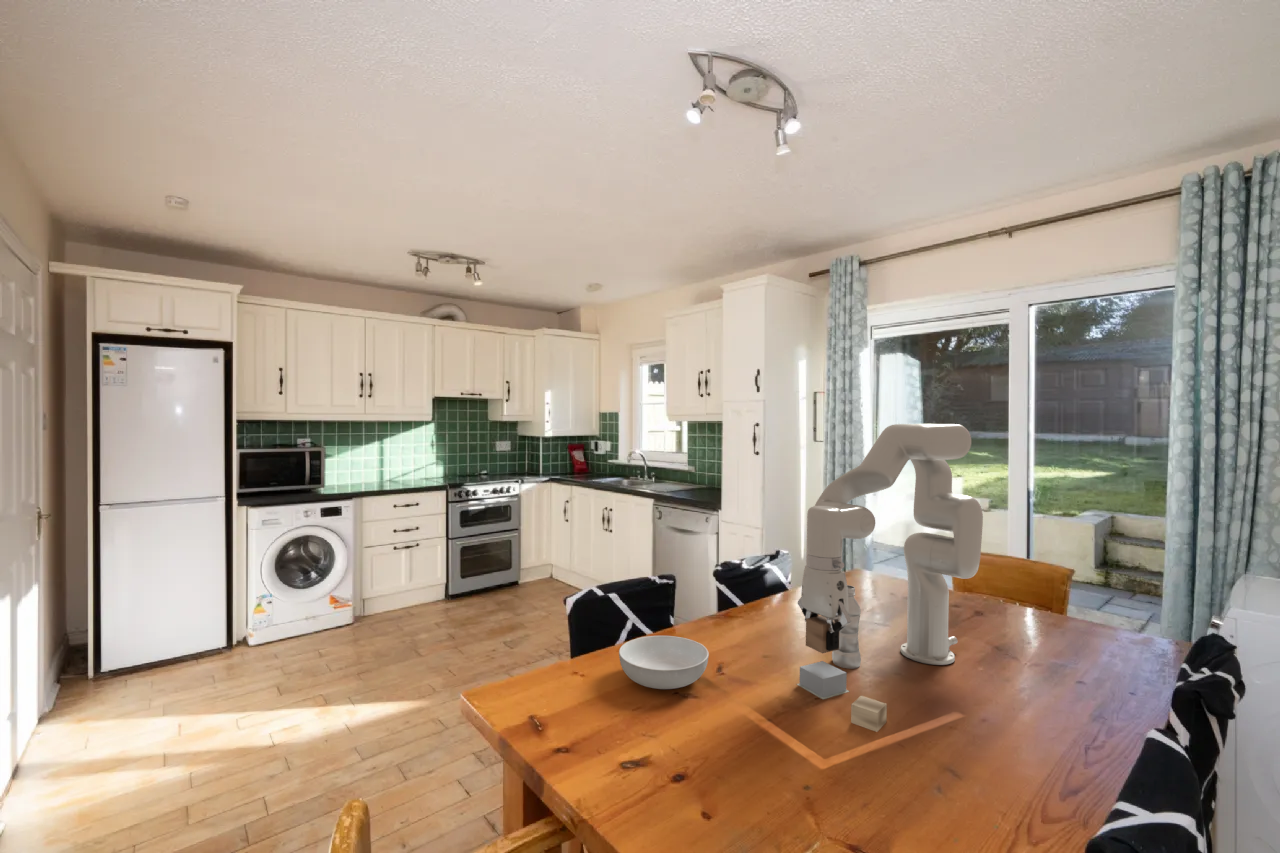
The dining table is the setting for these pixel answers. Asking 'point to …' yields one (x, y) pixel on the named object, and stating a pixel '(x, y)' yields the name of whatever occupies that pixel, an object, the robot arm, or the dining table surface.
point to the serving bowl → (663, 661)
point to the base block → (823, 679)
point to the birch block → (868, 713)
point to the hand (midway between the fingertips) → (822, 643)
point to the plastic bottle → (849, 636)
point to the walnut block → (817, 633)
